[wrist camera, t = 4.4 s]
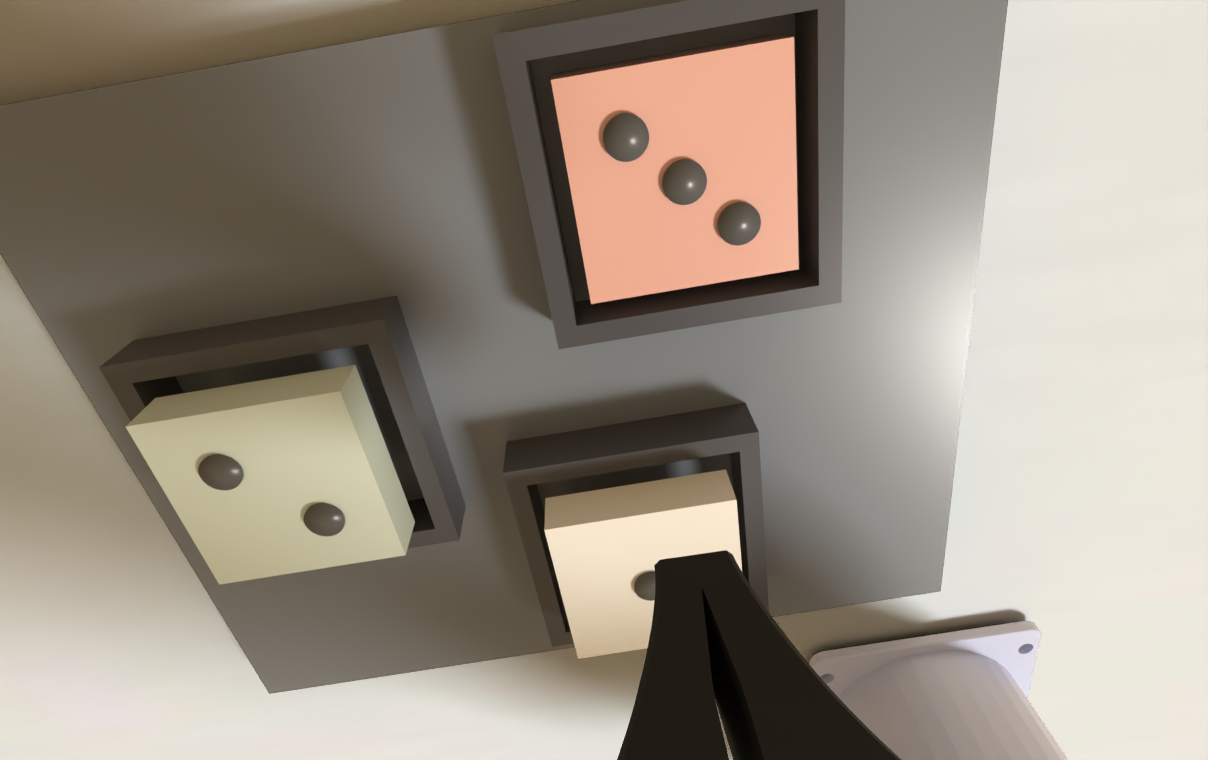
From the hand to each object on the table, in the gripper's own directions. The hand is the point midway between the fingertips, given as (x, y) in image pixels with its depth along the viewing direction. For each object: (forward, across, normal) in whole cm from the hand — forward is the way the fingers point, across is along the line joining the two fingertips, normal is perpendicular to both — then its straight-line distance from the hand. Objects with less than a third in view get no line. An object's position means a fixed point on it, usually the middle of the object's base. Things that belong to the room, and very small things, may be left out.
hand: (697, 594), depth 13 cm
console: (+7, +3, -1) cm, 8 cm away
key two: (+5, +9, -1) cm, 10 cm away
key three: (+6, -1, -6) cm, 9 cm away
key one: (+5, +1, +3) cm, 6 cm away
